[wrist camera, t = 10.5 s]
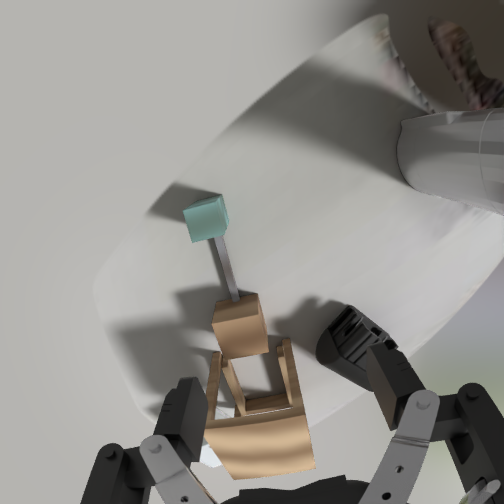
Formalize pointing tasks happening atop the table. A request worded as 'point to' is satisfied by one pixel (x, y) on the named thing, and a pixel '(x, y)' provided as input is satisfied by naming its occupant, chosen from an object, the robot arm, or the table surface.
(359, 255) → the table surface
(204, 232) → the corded block
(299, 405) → the shelf lane
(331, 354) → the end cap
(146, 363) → the table surface
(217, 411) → the product box
